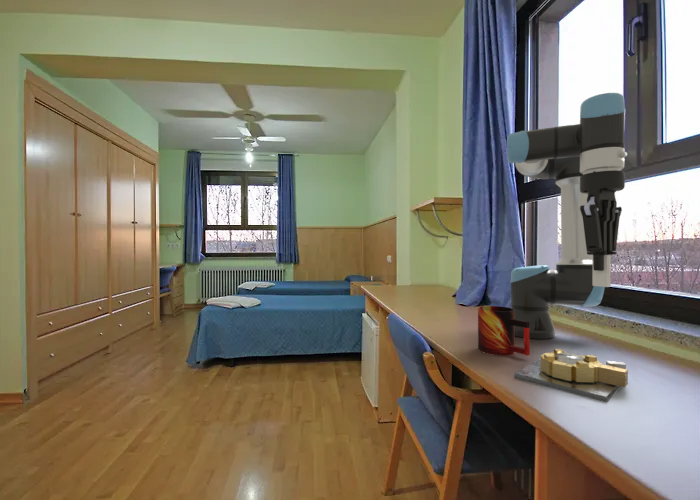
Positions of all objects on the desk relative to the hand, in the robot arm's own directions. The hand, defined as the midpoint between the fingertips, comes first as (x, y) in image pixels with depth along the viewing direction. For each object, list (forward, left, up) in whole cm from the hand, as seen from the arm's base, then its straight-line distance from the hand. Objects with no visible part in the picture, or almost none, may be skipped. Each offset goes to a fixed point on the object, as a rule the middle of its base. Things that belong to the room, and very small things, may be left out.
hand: (601, 286), depth 73 cm
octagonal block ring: (-1, -4, -20) cm, 20 cm away
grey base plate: (-1, -6, -21) cm, 22 cm away
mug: (-10, -25, -21) cm, 35 cm away
